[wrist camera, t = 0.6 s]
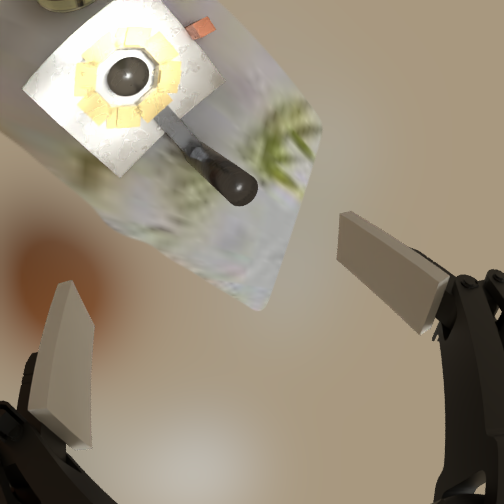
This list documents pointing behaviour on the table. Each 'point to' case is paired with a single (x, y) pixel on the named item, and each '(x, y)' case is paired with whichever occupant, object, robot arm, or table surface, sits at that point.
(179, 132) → the tan ring with handle
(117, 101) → the flange plate
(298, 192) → the table surface
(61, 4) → the coffee can
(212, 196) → the table surface
